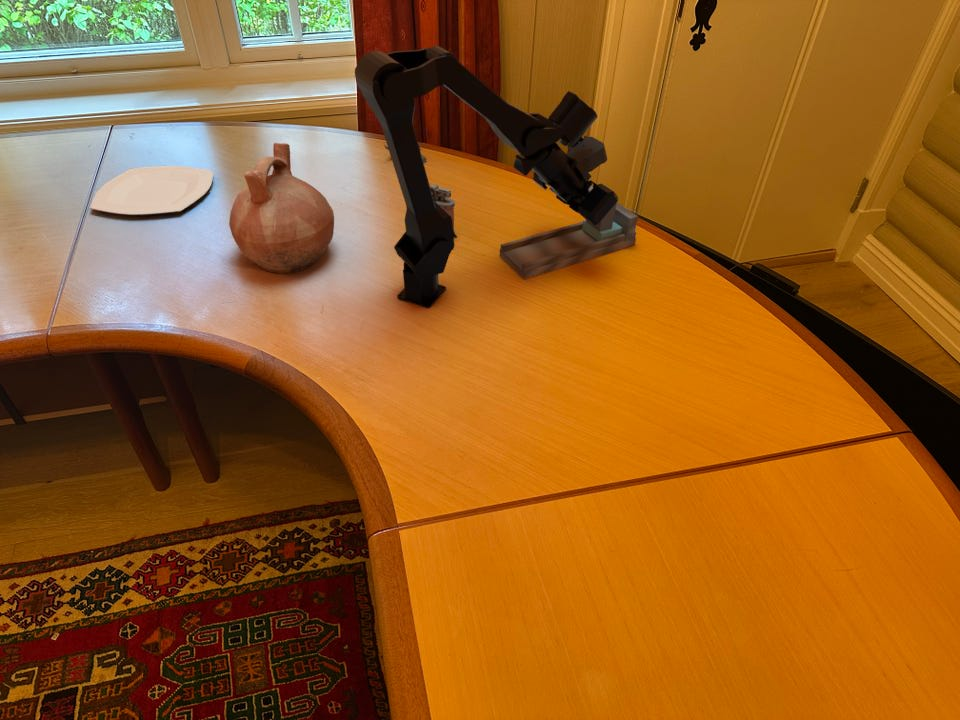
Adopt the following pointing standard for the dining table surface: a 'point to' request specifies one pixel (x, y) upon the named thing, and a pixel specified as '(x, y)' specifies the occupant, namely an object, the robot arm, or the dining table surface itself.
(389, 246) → the dining table surface
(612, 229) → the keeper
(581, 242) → the rail
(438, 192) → the lighter
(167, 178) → the plate
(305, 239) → the jug
